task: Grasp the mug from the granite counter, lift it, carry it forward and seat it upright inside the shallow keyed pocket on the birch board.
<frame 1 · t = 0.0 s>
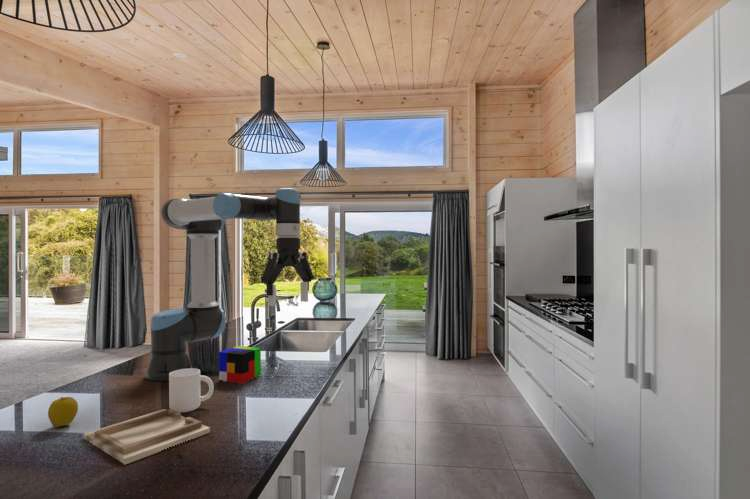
hand: (288, 303, 140), 28 cm above the countertop, fingers open, 13 cm apart
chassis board: (147, 435, 108), on the countertop
apple: (63, 426, 114), on the countertop
mug: (192, 408, 127), on the countertop
puzzle toy: (240, 378, 155), on the countertop
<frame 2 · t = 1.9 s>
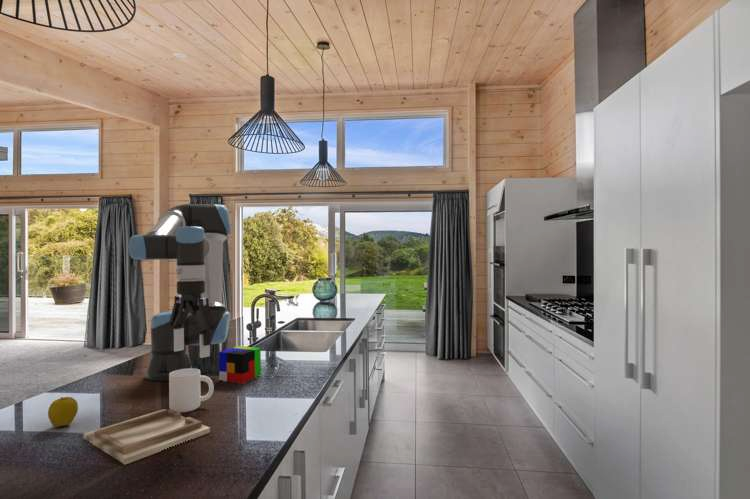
hand: (191, 353, 126), 16 cm above the countertop, fingers open, 13 cm apart
nothing on the countertop moved.
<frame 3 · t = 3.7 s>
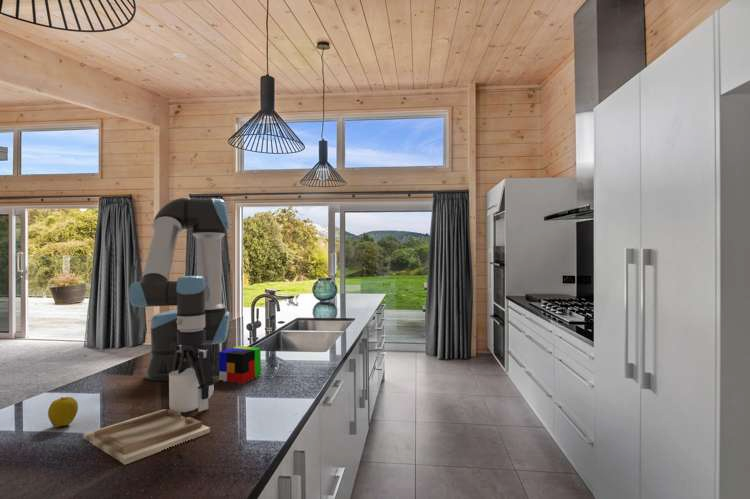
hand: (192, 405, 127), 0 cm above the countertop, fingers open, 11 cm apart
mug: (192, 408, 127), on the countertop, touching gripper
everything else where it was.
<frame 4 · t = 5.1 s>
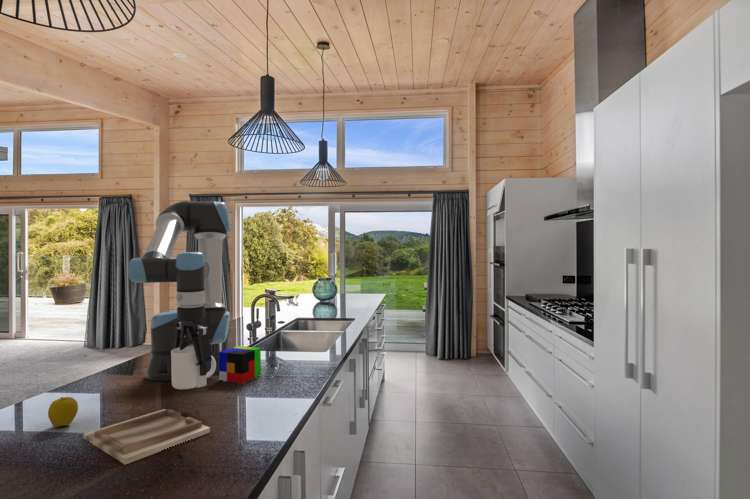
hand: (192, 382, 127), 7 cm above the countertop, fingers closed on mug, 9 cm apart
mug: (194, 385, 127), point 6 cm above the countertop, touching gripper
everything else where it was.
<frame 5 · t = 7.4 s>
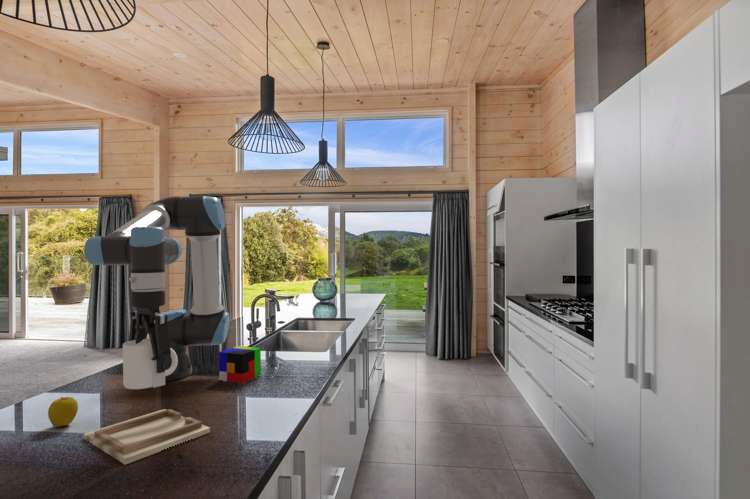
hand: (148, 382, 107), 13 cm above the countertop, fingers closed on mug, 9 cm apart
mug: (151, 384, 106), point 13 cm above the countertop, touching gripper
everything else where it was.
when the fingers open (3 cm above the countertop, at t = 10.0 s): mug drops 1 cm, resting on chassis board.
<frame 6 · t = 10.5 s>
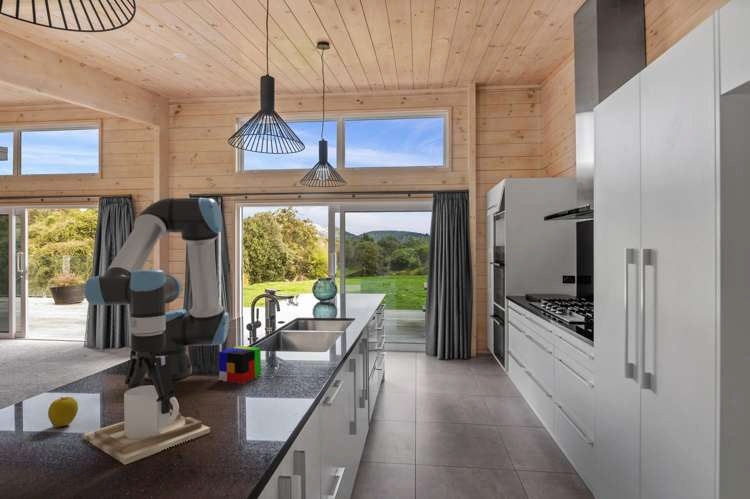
hand: (149, 420, 107), 4 cm above the countertop, fingers open, 13 cm apart
mug: (152, 432, 107), point 1 cm above the countertop, touching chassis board
everything else where it was.
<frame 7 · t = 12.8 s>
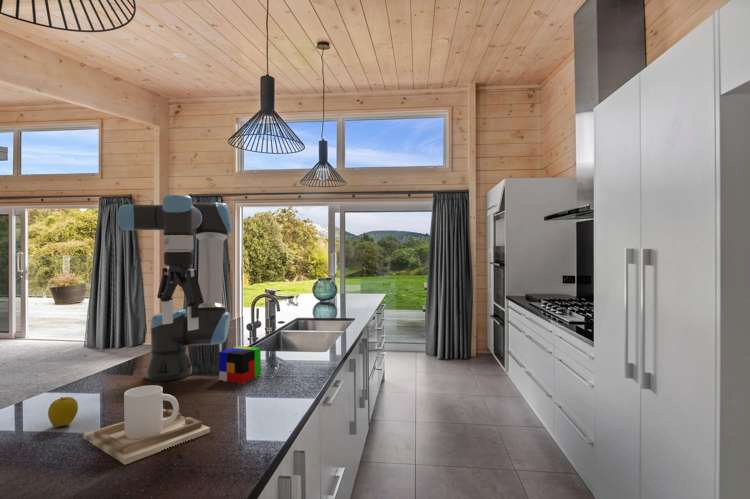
hand: (180, 326, 123), 24 cm above the countertop, fingers open, 13 cm apart
nothing on the countertop moved.
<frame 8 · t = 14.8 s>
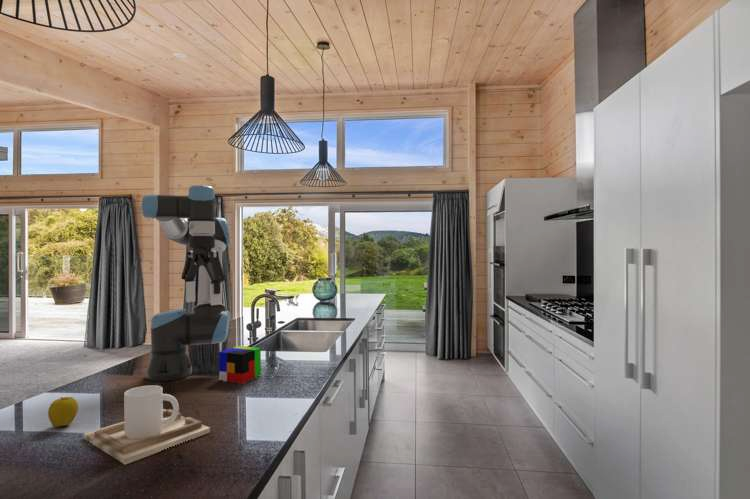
hand: (202, 303, 137), 29 cm above the countertop, fingers open, 13 cm apart
nothing on the countertop moved.
at the end: mug inside the target area on the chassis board (0.9 cm from its centre), point 1.0 cm above the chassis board's base; mug tilted 0°; the gripper is holding nothing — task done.
